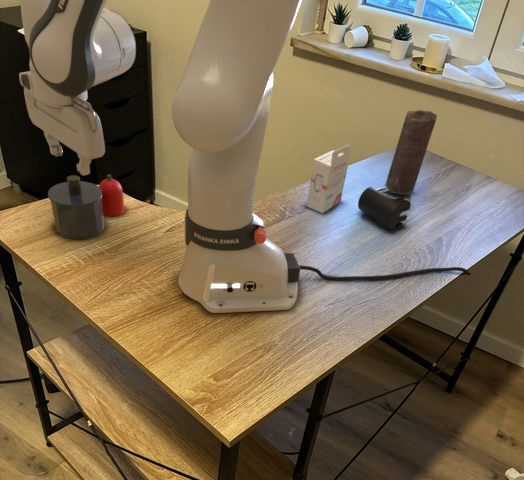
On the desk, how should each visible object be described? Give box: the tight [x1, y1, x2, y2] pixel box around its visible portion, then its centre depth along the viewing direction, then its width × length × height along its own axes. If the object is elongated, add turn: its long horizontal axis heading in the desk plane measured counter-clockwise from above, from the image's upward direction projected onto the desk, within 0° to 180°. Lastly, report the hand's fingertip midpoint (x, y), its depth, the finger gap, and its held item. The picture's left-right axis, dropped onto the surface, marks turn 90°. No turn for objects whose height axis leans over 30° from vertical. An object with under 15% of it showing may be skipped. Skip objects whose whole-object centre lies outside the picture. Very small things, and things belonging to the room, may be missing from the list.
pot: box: [50, 198, 105, 240], centre depth 107 cm, size 10×10×7 cm
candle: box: [384, 109, 438, 196], centre depth 132 cm, size 8×7×20 cm
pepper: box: [98, 174, 125, 217], centre depth 113 cm, size 5×5×8 cm
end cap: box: [357, 186, 412, 231], centre depth 123 cm, size 10×7×7 cm
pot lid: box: [47, 174, 103, 208], centre depth 104 cm, size 10×10×4 cm
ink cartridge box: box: [306, 143, 352, 214], centre depth 124 cm, size 9×5×15 cm, turn 143°
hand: (70, 164), depth 101 cm, fingers open, 8 cm apart
